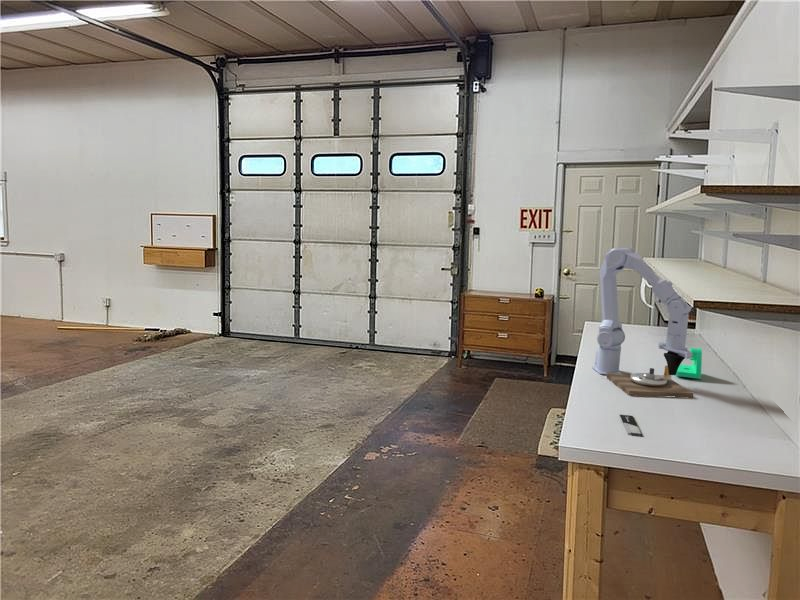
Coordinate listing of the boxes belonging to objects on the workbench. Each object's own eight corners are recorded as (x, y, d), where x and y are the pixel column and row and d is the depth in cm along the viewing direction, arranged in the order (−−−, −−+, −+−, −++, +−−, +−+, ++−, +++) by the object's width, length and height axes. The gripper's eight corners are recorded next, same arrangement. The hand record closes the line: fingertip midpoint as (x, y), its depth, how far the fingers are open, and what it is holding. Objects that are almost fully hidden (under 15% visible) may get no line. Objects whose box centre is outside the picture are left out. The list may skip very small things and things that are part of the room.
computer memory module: (643, 434, 149) (627, 432, 150) (643, 438, 150) (626, 436, 150) (634, 415, 164) (619, 413, 165) (634, 419, 164) (618, 417, 165)
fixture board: (606, 377, 204) (606, 373, 203) (664, 379, 204) (664, 375, 204) (628, 395, 184) (629, 390, 184) (693, 397, 184) (693, 393, 184)
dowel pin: (648, 377, 200) (649, 368, 200) (652, 377, 200) (653, 368, 200) (649, 378, 199) (650, 369, 199) (654, 378, 199) (655, 369, 199)
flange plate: (649, 388, 186) (650, 373, 186) (622, 379, 196) (623, 365, 196) (682, 384, 193) (684, 370, 192) (655, 375, 203) (656, 361, 202)
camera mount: (672, 370, 218) (675, 343, 216) (695, 373, 215) (699, 345, 214) (676, 378, 206) (679, 349, 205) (700, 381, 204) (703, 352, 202)
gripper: (702, 339, 187) (698, 380, 189) (673, 329, 201) (669, 368, 203) (683, 339, 186) (678, 381, 188) (654, 329, 200) (650, 369, 202)
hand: (672, 374), depth 195 cm, fingers closed
